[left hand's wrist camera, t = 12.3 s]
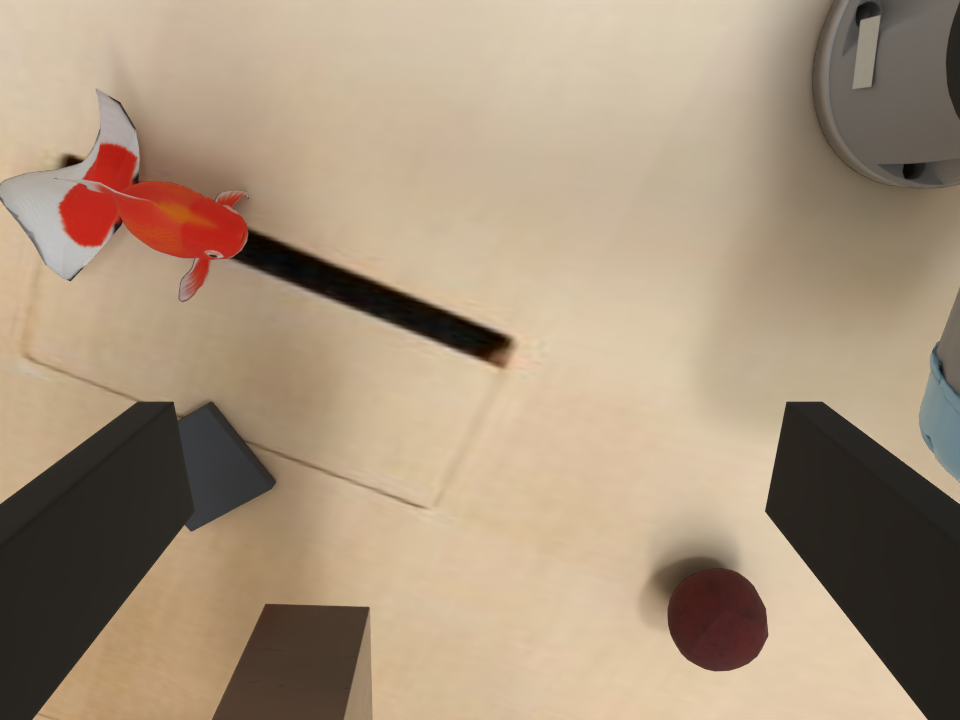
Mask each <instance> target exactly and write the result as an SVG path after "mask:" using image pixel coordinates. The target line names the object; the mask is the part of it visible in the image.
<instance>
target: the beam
mask: <svg viewBox="0 0 960 720" xmlns="http://www.w3.org/2000/svg"><path fill="white" fill-rule="evenodd" d="M212 720H372V681H371V640H370V608H369V607H353V606H320V605H286V604H265V606H264V608H263V611H262V613H261V615H260V617H259V619H258V621H257V624H256V626H255V628H254V630H253V632H252V634H251V637H250V639H249V641H248V643H247V645H246V647H245V649H244V652H243V654H242V656H241V658H240V660H239V662H238V665H237V667H236V669H235V671H234V673H233V675H232V678H231V680H230V682H229V684H228V686H227V688H226V690H225V693H224V695H223V697H222V699H221V701H220V703H219V706H218V708H217V710H216V712H215V714H214V716H213V719H212Z"/></svg>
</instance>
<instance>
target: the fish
mask: <svg viewBox="0 0 960 720" xmlns="http://www.w3.org/2000/svg"><path fill="white" fill-rule="evenodd" d="M96 91H97V94H98V100H99V106H100V118H101V126H100V130H99V133H98V136H97V140H96V143H95V146H94V148H93V149H92V151H91V152H90V154H89V155H88V157H87V158H86V159H85V160H84V161H83V162H82V163H78V164H75V165H72V166H68V167H65V168H61V169H57V170H49V171H39V172H32V173H26V174H22V175H19V176H15V177H12V178H9V179H6V180H4V181H3V182H2V183H1V184H0V200H1V202H2V203H3V204H4V206H5V207H6V208H7V210H8V211H9V212H10V213H11V214H12V216H13V217H14V218H15V219H16V220H17V222H18V223H19V224H20V225H21V227H22V228H23V230H24V231H25V232H26V234H27V235H28V236H29V238H30V239H31V241H32V242H33V243H34V245H35V247H36V249H37V250H38V252H39V254H40V256H41V258H42V259H43V261H44V263H45V265H47V266H48V267H49V268H51V269H52V270H53V271H54V272H56V273H57V274H58V275H60V276H61V277H62V278H63V279H66V280H69V281H71V280H72V279H73V278H74V277H75V276H76V275H77V274H78V273H79V272H80V271H81V270H82V269H83V268H84V267H85V266H86V265H87V264H88V263H89V262H90V261H91V260H92V259H93V258H94V256H95V255H96V254H97V253H98V252H99V251H100V250H101V248H102V247H103V246H104V245H105V244H106V243H107V241H108V240H109V239H110V238H111V237H112V235H113V234H114V233H115V232H116V231H117V229H118V228H119V227H120V226H121V224H122V222H124V224H125V225H126V227H127V228H128V230H129V231H130V232H131V233H132V234H133V235H134V236H136V237H137V238H138V239H139V240H141V241H142V242H143V243H145V244H146V245H148V246H149V247H151V248H153V249H155V250H157V251H160V252H163V253H166V254H169V255H172V256H176V257H181V258H195V259H194V262H193V265H192V268H191V269H190V271H189V272H188V273H187V274H186V275H185V276H184V277H183V278H182V280H181V282H180V289H179V300H180V301H181V302H184V301H187V300H189V299H190V298H191V297H192V296H193V295H194V294H195V293H196V291H197V290H198V289H199V288H200V287H201V286H202V285H203V283H204V281H205V279H206V276H207V274H208V271H209V266H210V260H213V259H227V258H231V257H233V256H234V255H236V254H237V253H238V252H240V251H241V250H242V248H243V247H244V245H245V243H246V242H247V237H248V230H247V224H246V222H245V221H244V220H243V218H242V217H241V216H240V215H239V214H238V212H237V211H236V210H235V209H233V208H232V207H233V206H234V205H235V204H236V203H237V202H238V201H239V200H240V198H242V197H243V196H246V197H247V199H249V197H248V194H247V192H244V191H228V192H223V193H220V194H218V196H217V197H216V199H215V201H214V200H212V199H210V198H205V197H204V196H202V195H201V194H199V193H197V192H195V191H193V190H191V189H189V188H187V187H184V186H181V185H178V184H174V183H169V182H141V183H138V179H139V161H140V156H139V146H138V140H137V134H136V129H135V127H134V125H133V124H132V122H131V120H130V118H129V117H128V115H127V113H126V112H125V110H124V108H123V107H122V105H121V103H120V102H118V101H117V100H115V99H113V98H112V97H110V96H108V95H107V94H105V93H103V92H101V91H100V90H98V89H96Z"/></svg>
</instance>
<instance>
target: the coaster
mask: <svg viewBox="0 0 960 720" xmlns="http://www.w3.org/2000/svg"><path fill="white" fill-rule="evenodd" d="M177 422H178V428H179V433H180V438H181V443H182V448H183V453H184V458H185V463H186V468H187V474H188V479H189V484H190V489H191V494H192V499H193V504H194V509H195V512H194V513H193V514H192V516H191V517H190V518H189V520H188V521H187V522H186V523H185V525H186V527H187V528H188V529H189V530H190V531H194V530H195V529H197V528H199V527H201V526H203V525H205V524H207V523H209V522H210V521H212V520H214V519H216V518H218V517H220V516H222V515H224V514H225V513H227V512H229V511H231V510H233V509H235V508H237V507H238V506H240V505H242V504H244V503H246V502H248V501H250V500H252V499H253V498H255V497H257V496H259V495H261V494H263V493H265V492H266V491H268V490H270V489H272V488H273V486H274V484H275V483H276V481H275V480H274V479H273V478H272V476H271V475H270V474H269V473H268V471H267V470H266V469H265V468H264V466H263V465H262V464H261V463H260V461H259V460H258V459H257V458H256V456H255V455H254V454H253V453H252V451H251V450H250V449H249V448H248V446H247V445H246V444H245V443H244V441H243V440H242V439H241V438H240V436H239V435H238V434H237V433H236V431H235V430H234V429H233V428H232V426H231V425H230V424H229V423H228V421H227V420H226V419H225V418H224V416H223V415H222V414H221V413H220V411H219V410H218V409H217V408H216V406H215V405H214V404H213V403H212V402H210V403H208V404H206V405H204V406H203V407H201V408H199V409H198V410H196V411H194V412H192V413H191V414H189V415H187V416H185V417H184V418H182V419H180V420H179V421H177Z"/></svg>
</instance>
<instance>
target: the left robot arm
mask: <svg viewBox="0 0 960 720" xmlns="http://www.w3.org/2000/svg"><path fill="white" fill-rule="evenodd" d="M813 93H814V102H815V108H816V113H817V116H818V120H819V123H820V126H821V128H822V131H823V133H824V135H825V137H826V139H827V141H828V142H829V144H830V146H831V147H832V148H833V150H834V151H835V153H836V154H837V155H838V156H839V157H840V158H841V159H842V160H843V161H844V162H845V163H846V164H847V165H848V166H849V167H851V168H852V169H853V170H855V171H856V172H858V173H859V174H861V175H863V176H865V177H867V178H869V179H872V180H874V181H877V182H880V183H884V184H888V185H894V186H902V187H913V188H941V187H948V186H953V185H958V184H960V0H835V2H834V3H833V5H832V7H831V9H830V12H829V14H828V16H827V18H826V21H825V23H824V26H823V29H822V32H821V35H820V38H819V42H818V46H817V50H816V55H815V61H814V71H813ZM930 367H931V371H930V375H929V379H928V383H927V387H926V391H925V394H924V397H923V401H922V404H921V407H920V413H919V426H920V431H921V434H922V437H923V438H924V440H925V442H926V444H927V446H928V448H929V449H930V450H931V451H932V452H933V453H934V454H935V457H936V459H937V461H938V462H939V463H940V464H941V465H942V466H943V467H944V469H945V470H946V471H947V472H948V473H949V474H951V475H952V476H953V477H954V478H955V479H956V480H957V481H959V482H960V288H959V291H958V294H957V297H956V300H955V302H954V305H953V308H952V310H951V313H950V316H949V318H948V321H947V324H946V326H945V329H944V332H943V334H942V337H941V340H940V341H939V342H937V343H936V345H935V347H934V348H933V351H932V354H931V355H930ZM194 512H195V509H194V504H193V499H192V494H191V489H190V484H189V479H188V474H187V468H186V463H185V458H184V453H183V448H182V443H181V438H180V433H179V428H178V422H177V417H176V412H175V407H174V402H137V403H135V404H134V405H133V406H131V407H130V408H129V409H127V410H126V411H125V412H123V413H122V414H121V415H119V416H118V417H117V418H115V419H114V420H113V421H111V422H110V423H109V424H107V425H106V426H105V427H103V428H102V429H101V430H99V431H98V432H97V433H95V434H94V435H92V436H91V437H90V438H88V439H87V440H86V441H84V442H83V443H82V444H80V445H79V446H78V447H76V448H75V449H74V450H72V451H71V452H70V453H68V454H67V455H66V456H64V457H63V458H62V459H60V460H59V461H58V462H56V463H55V464H54V465H52V466H51V467H50V468H48V469H47V470H46V471H44V472H43V473H42V474H40V475H39V476H38V477H36V478H35V479H34V480H32V481H31V482H29V483H28V484H27V485H25V486H24V487H23V488H21V489H20V490H19V491H17V492H16V493H15V494H13V495H12V496H11V497H9V498H8V499H7V500H5V501H4V502H3V503H1V504H0V720H32V719H33V718H34V717H35V715H36V714H37V713H38V712H39V710H40V709H41V708H42V706H43V705H44V704H45V703H46V701H47V700H48V699H49V698H50V696H51V695H52V694H53V692H54V691H55V690H56V689H57V687H58V686H59V685H60V683H61V682H62V681H63V680H64V678H65V677H66V676H67V674H68V673H69V672H70V671H71V669H72V668H73V667H74V666H75V664H76V663H77V662H78V660H79V659H80V658H81V657H82V655H83V654H84V653H85V651H86V650H87V649H88V648H89V646H90V645H91V644H92V642H93V641H94V640H95V639H96V637H97V636H98V635H99V634H100V632H101V631H102V630H103V628H104V627H105V626H106V625H107V623H108V622H109V621H110V619H111V618H112V617H113V616H114V614H115V613H116V612H117V610H118V609H119V608H120V607H121V605H122V604H123V603H124V602H125V600H126V599H127V598H128V596H129V595H130V594H131V593H132V591H133V590H134V589H135V587H136V586H137V585H138V584H139V582H140V581H141V580H142V578H143V577H144V576H145V575H146V573H147V572H148V571H149V570H150V568H151V567H152V566H153V564H154V563H155V562H156V561H157V559H158V558H159V557H160V555H161V554H162V553H163V552H164V550H165V549H166V548H167V546H168V545H169V544H170V543H171V541H172V540H173V539H174V538H175V536H176V535H177V534H178V532H179V531H180V530H181V529H182V527H183V526H184V525H185V523H186V522H187V521H188V520H189V518H190V517H191V516H192V514H193V513H194ZM765 512H766V513H767V514H768V516H769V517H770V518H771V520H772V521H773V522H774V523H775V525H776V526H777V527H778V529H779V530H780V531H781V532H782V534H783V535H784V536H785V538H786V539H787V540H788V541H789V543H790V544H791V545H792V546H793V548H794V549H795V550H796V552H797V553H798V554H799V555H800V557H801V558H802V559H803V561H804V562H805V563H806V564H807V566H808V567H809V568H810V570H811V571H812V572H813V573H814V575H815V576H816V577H817V578H818V580H819V581H820V582H821V584H822V585H823V586H824V587H825V589H826V590H827V591H828V593H829V594H830V595H831V596H832V598H833V599H834V600H835V602H836V603H837V604H838V605H839V607H840V608H841V609H842V610H843V612H844V613H845V614H846V616H847V617H848V618H849V619H850V621H851V622H852V623H853V625H854V626H855V627H856V628H857V630H858V631H859V632H860V634H861V635H862V636H863V637H864V639H865V640H866V641H867V642H868V644H869V645H870V646H871V648H872V649H873V650H874V651H875V653H876V654H877V655H878V657H879V658H880V659H881V660H882V662H883V663H884V664H885V666H886V667H887V668H888V669H889V671H890V672H891V673H892V674H893V676H894V677H895V678H896V680H897V681H898V682H899V683H900V685H901V686H902V687H903V689H904V690H905V691H906V692H907V694H908V695H909V696H910V698H911V699H912V700H913V701H914V703H915V704H916V705H917V706H918V708H919V709H920V710H921V712H922V713H923V714H924V715H925V717H926V718H927V719H928V720H960V504H959V503H957V502H956V501H955V500H953V499H952V498H951V497H949V496H948V495H947V494H945V493H944V492H943V491H941V490H940V489H939V488H937V487H936V486H935V485H933V484H932V483H931V482H929V481H928V480H926V479H925V478H924V477H922V476H921V475H920V474H918V473H917V472H916V471H914V470H913V469H912V468H910V467H909V466H908V465H906V464H905V463H904V462H902V461H901V460H900V459H898V458H897V457H896V456H894V455H893V454H892V453H890V452H889V451H888V450H886V449H885V448H884V447H882V446H881V445H880V444H878V443H877V442H876V441H874V440H873V439H872V438H870V437H869V436H868V435H866V434H865V433H863V432H862V431H861V430H859V429H858V428H857V427H855V426H854V425H853V424H851V423H850V422H849V421H847V420H846V419H845V418H843V417H842V416H841V415H839V414H838V413H837V412H835V411H834V410H833V409H831V408H830V407H829V406H827V405H826V404H825V403H823V402H786V407H785V412H784V417H783V422H782V428H781V433H780V438H779V443H778V448H777V453H776V458H775V463H774V468H773V474H772V479H771V484H770V489H769V494H768V499H767V504H766V509H765Z"/></svg>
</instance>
